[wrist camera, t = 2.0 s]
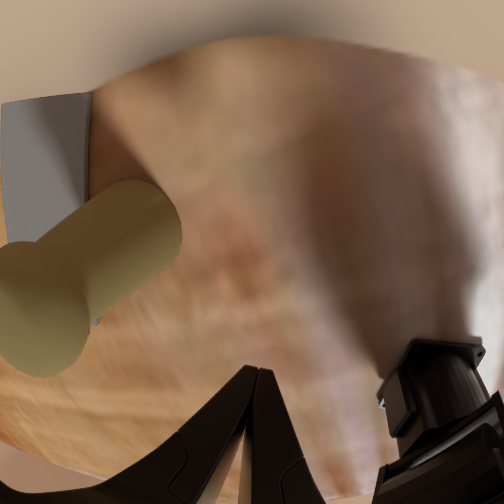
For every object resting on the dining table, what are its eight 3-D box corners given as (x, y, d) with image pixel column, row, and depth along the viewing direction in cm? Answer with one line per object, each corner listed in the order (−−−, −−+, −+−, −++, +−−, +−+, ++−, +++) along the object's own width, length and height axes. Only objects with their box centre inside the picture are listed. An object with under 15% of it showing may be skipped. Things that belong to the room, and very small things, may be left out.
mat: (92, 92, 15) (88, 92, 15) (99, 322, 21) (97, 325, 21) (5, 103, 16) (1, 103, 15) (21, 293, 22) (19, 295, 22)
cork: (84, 189, 17) (-62, 260, 7) (169, 169, 16) (8, 244, 6) (110, 277, 20) (0, 386, 10) (192, 272, 18) (93, 417, 8)
